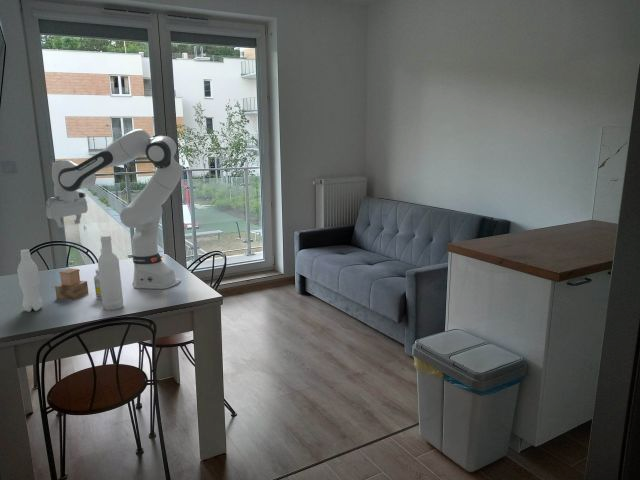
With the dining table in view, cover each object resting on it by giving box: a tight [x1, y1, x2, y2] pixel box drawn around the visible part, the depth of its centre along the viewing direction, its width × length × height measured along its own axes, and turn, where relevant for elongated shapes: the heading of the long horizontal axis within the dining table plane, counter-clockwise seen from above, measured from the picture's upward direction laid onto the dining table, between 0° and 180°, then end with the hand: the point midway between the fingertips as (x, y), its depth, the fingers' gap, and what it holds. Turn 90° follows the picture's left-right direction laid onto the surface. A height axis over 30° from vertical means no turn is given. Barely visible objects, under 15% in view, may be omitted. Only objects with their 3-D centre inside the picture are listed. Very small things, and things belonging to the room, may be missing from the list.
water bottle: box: [16, 249, 44, 313], centre depth 193 cm, size 7×7×25 cm
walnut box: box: [54, 280, 89, 301], centre depth 211 cm, size 9×9×6 cm
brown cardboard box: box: [58, 268, 81, 286], centre depth 209 cm, size 6×6×6 cm
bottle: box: [97, 234, 124, 311], centre depth 194 cm, size 8×8×30 cm
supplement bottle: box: [93, 268, 102, 300], centre depth 208 cm, size 7×7×13 cm
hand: (69, 225), depth 221 cm, fingers open, 8 cm apart
